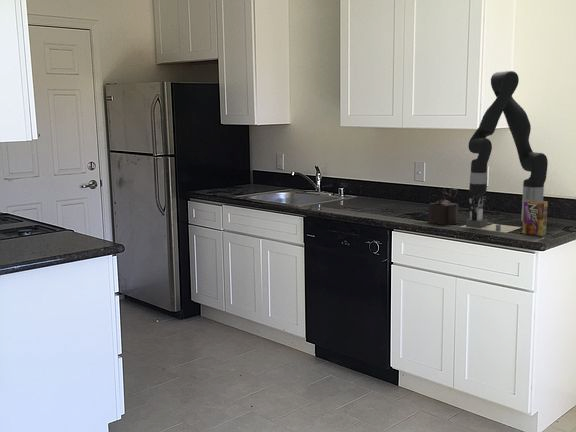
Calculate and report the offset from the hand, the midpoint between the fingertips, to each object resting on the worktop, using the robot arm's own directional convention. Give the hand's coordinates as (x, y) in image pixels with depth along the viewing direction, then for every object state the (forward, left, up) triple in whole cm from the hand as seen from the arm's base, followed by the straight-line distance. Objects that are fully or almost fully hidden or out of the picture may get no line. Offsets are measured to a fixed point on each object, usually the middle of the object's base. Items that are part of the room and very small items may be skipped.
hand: (476, 219), depth 297 cm
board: (-2, +6, -4) cm, 8 cm away
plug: (0, 0, -3) cm, 3 cm away
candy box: (+1, +27, -4) cm, 27 cm away
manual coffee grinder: (-2, -16, -4) cm, 17 cm away
